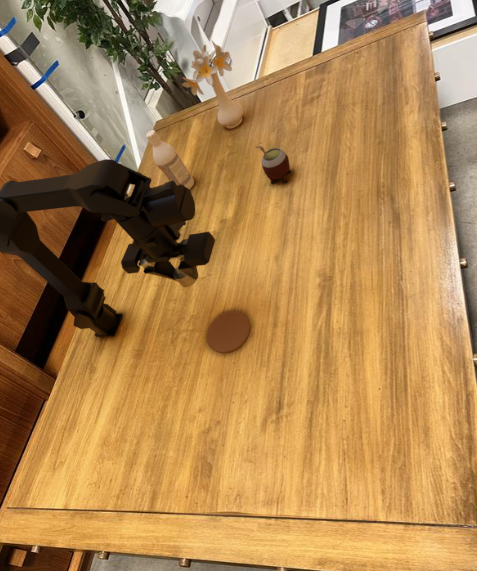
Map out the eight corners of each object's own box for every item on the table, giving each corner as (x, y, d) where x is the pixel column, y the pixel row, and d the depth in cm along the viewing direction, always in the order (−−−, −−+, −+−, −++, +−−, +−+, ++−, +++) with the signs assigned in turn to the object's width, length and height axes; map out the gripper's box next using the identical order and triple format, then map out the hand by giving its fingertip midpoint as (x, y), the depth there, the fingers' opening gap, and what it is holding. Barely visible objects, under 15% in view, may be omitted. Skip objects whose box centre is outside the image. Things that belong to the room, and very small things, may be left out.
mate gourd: (286, 165, 109) (268, 118, 98) (299, 178, 104) (282, 130, 93) (263, 179, 109) (243, 134, 98) (275, 193, 104) (255, 147, 93)
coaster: (245, 353, 79) (244, 352, 79) (203, 352, 84) (201, 351, 83) (253, 311, 85) (252, 309, 84) (213, 312, 89) (212, 311, 89)
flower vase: (207, 143, 133) (169, 73, 115) (230, 108, 141) (198, 38, 122) (238, 141, 126) (203, 66, 108) (261, 105, 133) (232, 29, 115)
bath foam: (173, 186, 126) (138, 134, 111) (192, 175, 126) (158, 121, 111) (177, 197, 122) (141, 145, 107) (197, 186, 121) (162, 131, 106)
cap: (196, 285, 77) (189, 277, 75) (179, 289, 79) (171, 281, 77) (198, 269, 80) (191, 260, 78) (181, 273, 81) (174, 265, 79)
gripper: (201, 185, 68) (237, 242, 79) (119, 203, 76) (162, 252, 87) (184, 233, 62) (226, 287, 73) (97, 247, 70) (147, 294, 81)
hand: (188, 278), depth 79 cm, fingers closed on cap, 4 cm apart
